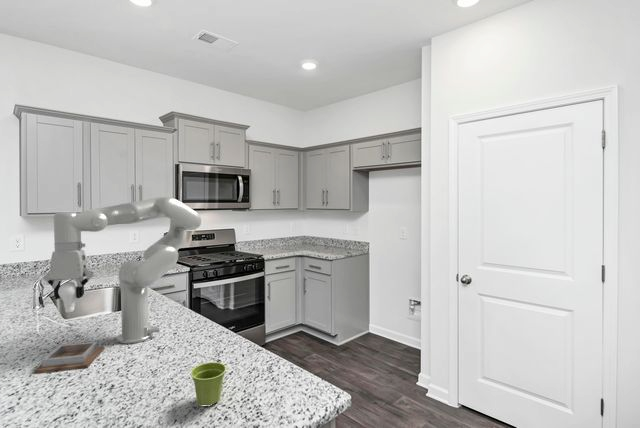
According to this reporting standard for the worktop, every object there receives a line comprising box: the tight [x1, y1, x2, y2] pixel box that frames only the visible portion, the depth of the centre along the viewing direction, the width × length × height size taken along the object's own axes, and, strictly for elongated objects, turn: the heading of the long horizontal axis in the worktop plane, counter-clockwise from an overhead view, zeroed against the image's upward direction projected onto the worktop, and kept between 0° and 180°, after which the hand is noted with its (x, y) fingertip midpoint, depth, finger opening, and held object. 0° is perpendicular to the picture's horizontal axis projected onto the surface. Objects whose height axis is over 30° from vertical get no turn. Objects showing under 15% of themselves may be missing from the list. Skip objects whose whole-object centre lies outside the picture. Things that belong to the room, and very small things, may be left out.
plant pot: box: [190, 361, 227, 406], centre depth 93 cm, size 9×9×9 cm
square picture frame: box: [41, 341, 99, 368], centre depth 117 cm, size 12×12×2 cm
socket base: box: [33, 345, 105, 374], centre depth 117 cm, size 15×15×1 cm
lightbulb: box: [58, 281, 78, 314], centre depth 119 cm, size 6×6×11 cm
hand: (69, 297), depth 119 cm, fingers closed on lightbulb, 5 cm apart
